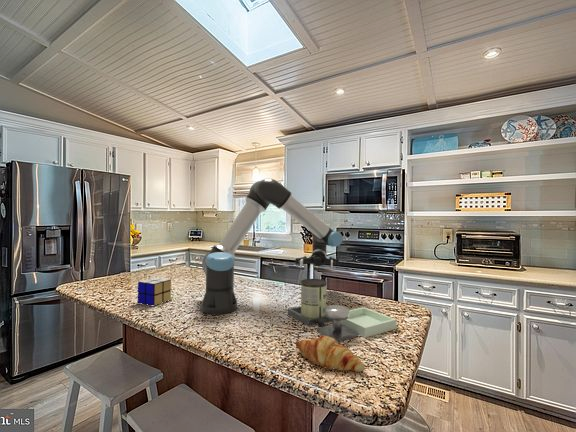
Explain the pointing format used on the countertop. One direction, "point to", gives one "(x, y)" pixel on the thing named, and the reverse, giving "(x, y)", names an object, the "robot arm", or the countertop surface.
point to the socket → (309, 322)
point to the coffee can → (313, 298)
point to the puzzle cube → (154, 291)
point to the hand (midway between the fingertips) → (316, 264)
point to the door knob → (337, 324)
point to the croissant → (329, 354)
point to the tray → (369, 322)
